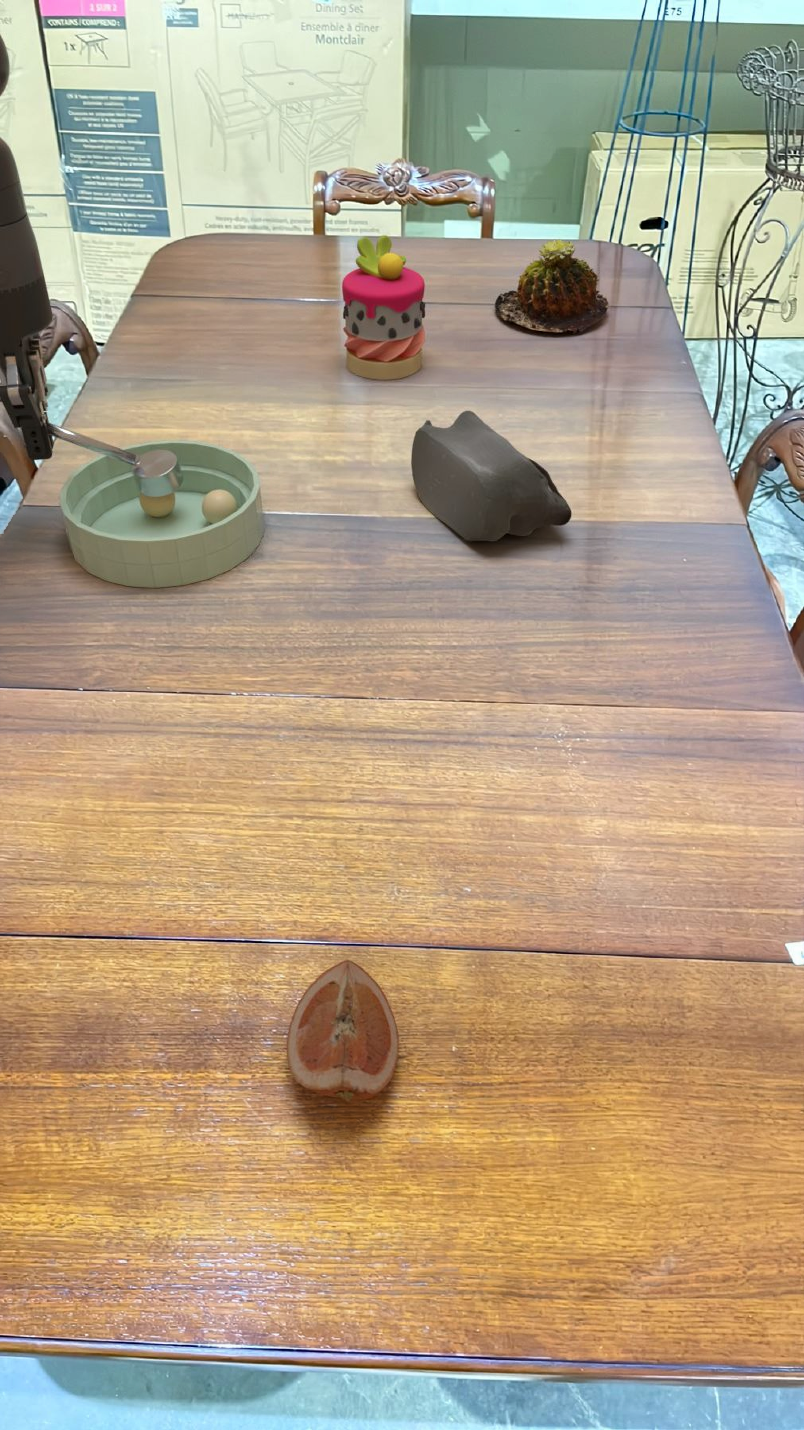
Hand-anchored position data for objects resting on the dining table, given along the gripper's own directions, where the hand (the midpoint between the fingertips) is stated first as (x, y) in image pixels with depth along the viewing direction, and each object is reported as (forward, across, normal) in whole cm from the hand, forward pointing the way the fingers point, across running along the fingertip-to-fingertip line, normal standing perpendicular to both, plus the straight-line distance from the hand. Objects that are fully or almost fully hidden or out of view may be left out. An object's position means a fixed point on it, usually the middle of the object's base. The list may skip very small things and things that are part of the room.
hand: (42, 453), depth 105 cm
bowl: (+9, +3, +11) cm, 14 cm away
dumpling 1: (+7, +1, +11) cm, 13 cm away
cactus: (+9, -48, +65) cm, 81 cm away
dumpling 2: (+8, +2, +15) cm, 17 cm away
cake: (+9, -35, +39) cm, 53 cm away
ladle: (+5, -1, +6) cm, 8 cm away
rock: (+9, +2, +44) cm, 45 cm away
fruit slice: (+9, +64, +21) cm, 68 cm away
